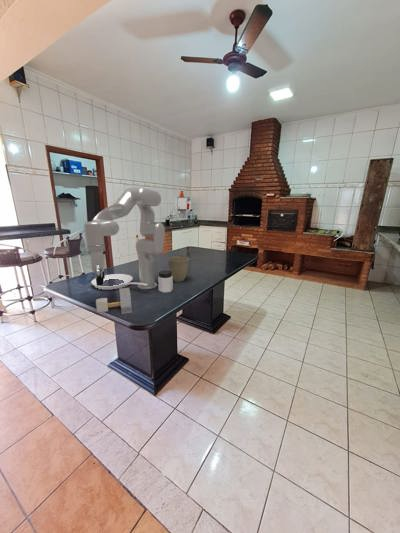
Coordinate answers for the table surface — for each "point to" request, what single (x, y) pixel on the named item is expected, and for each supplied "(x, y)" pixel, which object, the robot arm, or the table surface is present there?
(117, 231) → the robot arm
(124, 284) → the pan
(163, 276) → the jar
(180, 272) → the plant pot
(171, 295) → the table surface
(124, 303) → the block
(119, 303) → the block ended dumbbell
